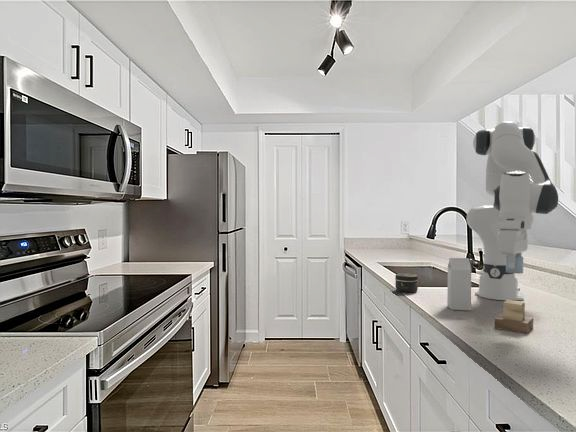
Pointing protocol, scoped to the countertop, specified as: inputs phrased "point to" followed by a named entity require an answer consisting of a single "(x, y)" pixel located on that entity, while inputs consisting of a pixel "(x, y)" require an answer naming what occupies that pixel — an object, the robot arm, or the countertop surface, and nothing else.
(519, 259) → the ceramic cylinder
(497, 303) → the countertop surface
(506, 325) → the walnut pedestal
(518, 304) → the oak cube
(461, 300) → the milk carton
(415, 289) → the jar
